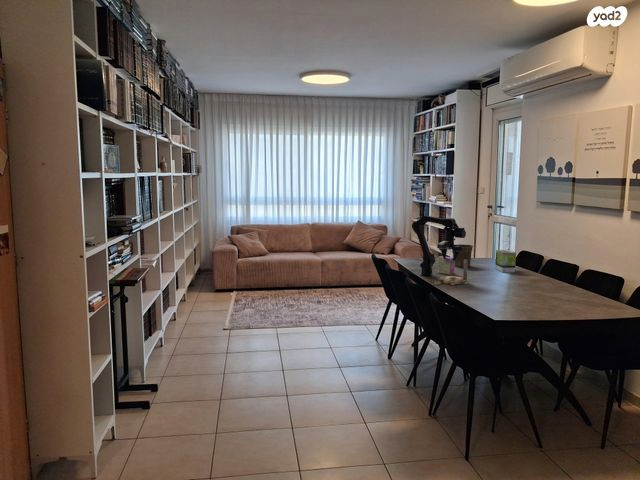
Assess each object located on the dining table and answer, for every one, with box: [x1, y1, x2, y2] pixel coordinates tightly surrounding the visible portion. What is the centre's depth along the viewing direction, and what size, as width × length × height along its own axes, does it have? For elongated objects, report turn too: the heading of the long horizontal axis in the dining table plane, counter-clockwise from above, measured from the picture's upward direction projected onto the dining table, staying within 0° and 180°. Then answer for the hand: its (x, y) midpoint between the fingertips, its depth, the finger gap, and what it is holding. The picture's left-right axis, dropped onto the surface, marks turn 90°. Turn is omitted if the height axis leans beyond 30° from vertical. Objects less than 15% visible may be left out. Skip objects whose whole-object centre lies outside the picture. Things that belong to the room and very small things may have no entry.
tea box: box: [494, 249, 517, 273], centre depth 363 cm, size 15×10×15 cm
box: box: [437, 255, 455, 276], centre depth 354 cm, size 10×6×12 cm, turn 40°
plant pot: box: [451, 243, 474, 268], centre depth 382 cm, size 16×16×16 cm
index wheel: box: [436, 259, 469, 286], centre depth 323 cm, size 19×21×15 cm
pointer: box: [433, 280, 442, 286], centre depth 318 cm, size 5×2×2 cm, turn 118°
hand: (449, 259), depth 333 cm, fingers open, 9 cm apart
